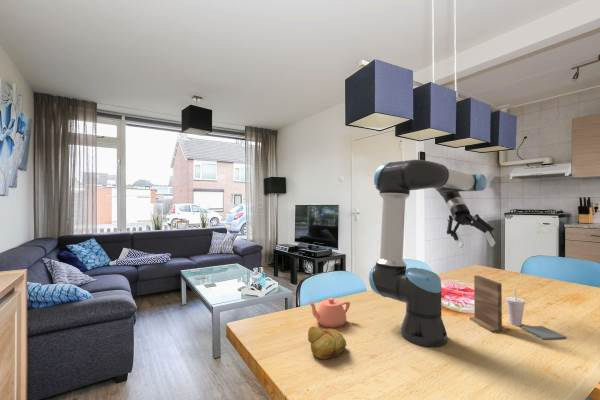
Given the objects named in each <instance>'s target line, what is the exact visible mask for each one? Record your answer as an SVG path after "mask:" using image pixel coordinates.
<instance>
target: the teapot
mask: <svg viewBox="0 0 600 400" xmlns="http://www.w3.org/2000/svg"><path fill="white" fill-rule="evenodd" d="M307 303H308V304H309V305H310V306H311V312H312V315H313V317H314V318H315V319H316V321H317V322H318V324H319V323H320V324H319V325H321V326H322V325H323V327H324V326H325V328H329V327H331V328H330V329H333V328H332V327H335V328H340V327H343V326H344V325H345V324H346V322H347V312H348V310H349V309H350V306H351V302H350V301H348V300H346V301H342V302H340V300H337V299H335V298H332V297H329V298H327V299H323V300H322V301H321V302H320V304H319V305H318V307H317V309H316V306H315V303H314V302H309V301H308V302H307ZM343 305H345V308H344V306H343Z"/></svg>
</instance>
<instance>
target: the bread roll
mask: <svg viewBox="0 0 600 400" xmlns="http://www.w3.org/2000/svg"><path fill="white" fill-rule="evenodd" d="M307 340H308V342H309V343H310V349H311V352H312V354H313V355H314V356H315V357H316V358H318V359H319V360H320V359H322V360H325V359H328V358H330V357H331V358H335V357H338V356H340V355H341V353H342V351H344V350H345V348H346V346H347V340H346V338H344V335H343V334H342V333H341V331H339V330H338V329H335V328H326V329H324V330H323V329H322V328H319V327H317V326H311V327H310V328H309V329H308V332H307Z"/></svg>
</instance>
